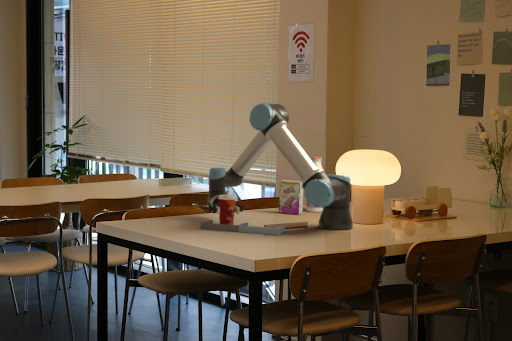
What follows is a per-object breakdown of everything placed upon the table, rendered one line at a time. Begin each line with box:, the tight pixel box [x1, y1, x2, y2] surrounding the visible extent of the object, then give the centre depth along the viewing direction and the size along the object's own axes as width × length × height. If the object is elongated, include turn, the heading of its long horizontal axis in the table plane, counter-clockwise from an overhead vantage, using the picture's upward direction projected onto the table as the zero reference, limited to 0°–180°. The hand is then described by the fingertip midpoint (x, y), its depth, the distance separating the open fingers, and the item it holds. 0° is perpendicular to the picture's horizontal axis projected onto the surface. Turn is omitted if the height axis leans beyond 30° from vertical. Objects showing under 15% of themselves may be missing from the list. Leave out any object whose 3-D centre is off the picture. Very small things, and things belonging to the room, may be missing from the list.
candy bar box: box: [278, 179, 304, 216], centre depth 368 cm, size 11×5×16 cm, turn 62°
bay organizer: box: [200, 219, 286, 236], centre depth 311 cm, size 34×11×2 cm, turn 72°
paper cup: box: [218, 194, 237, 225], centre depth 315 cm, size 8×8×14 cm
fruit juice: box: [305, 156, 324, 213], centre depth 379 cm, size 9×9×28 cm
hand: (228, 211), depth 310 cm, fingers open, 8 cm apart
